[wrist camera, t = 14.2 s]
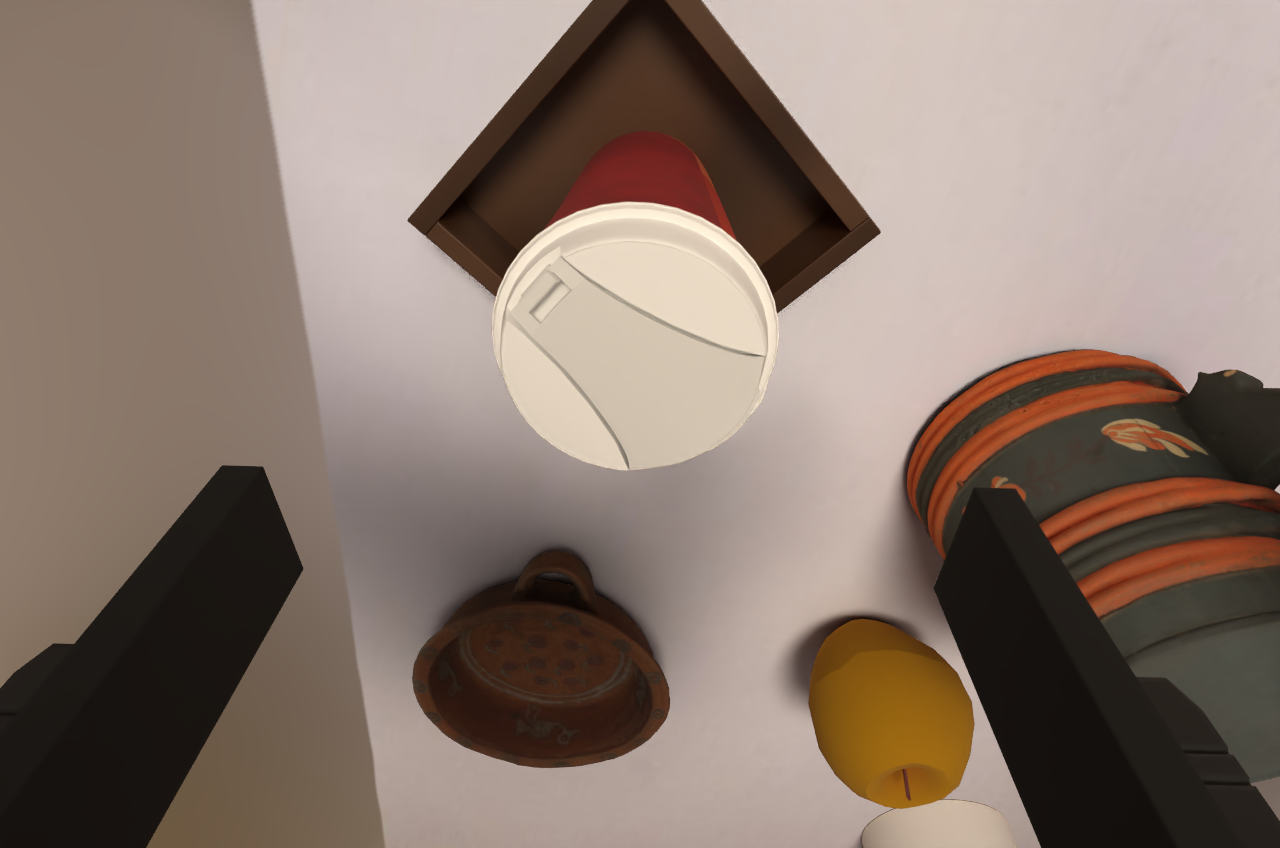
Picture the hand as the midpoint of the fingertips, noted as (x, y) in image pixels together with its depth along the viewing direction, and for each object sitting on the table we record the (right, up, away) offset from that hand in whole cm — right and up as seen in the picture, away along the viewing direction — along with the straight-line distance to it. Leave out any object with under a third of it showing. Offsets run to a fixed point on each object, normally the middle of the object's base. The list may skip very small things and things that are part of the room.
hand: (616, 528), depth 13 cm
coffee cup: (+1, +12, +18) cm, 22 cm away
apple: (+16, -13, +36) cm, 41 cm away
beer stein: (+24, +2, +25) cm, 35 cm away
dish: (-6, -14, +37) cm, 40 cm away
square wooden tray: (+1, +12, +18) cm, 22 cm away
